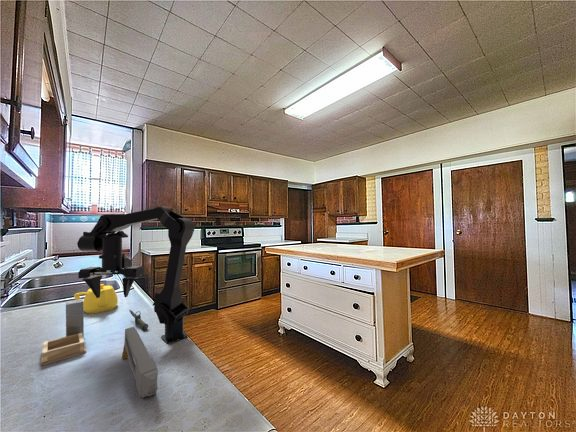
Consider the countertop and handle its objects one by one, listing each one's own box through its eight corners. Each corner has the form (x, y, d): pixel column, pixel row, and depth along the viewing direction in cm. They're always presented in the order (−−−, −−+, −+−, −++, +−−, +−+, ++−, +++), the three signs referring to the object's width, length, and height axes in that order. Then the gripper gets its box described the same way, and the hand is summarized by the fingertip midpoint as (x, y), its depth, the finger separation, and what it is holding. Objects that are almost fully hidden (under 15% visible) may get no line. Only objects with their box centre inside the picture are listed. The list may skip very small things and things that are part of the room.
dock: (85, 352, 75) (85, 341, 75) (40, 365, 69) (40, 354, 69) (83, 341, 82) (83, 332, 82) (41, 352, 76) (41, 342, 76)
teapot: (73, 307, 117) (72, 284, 117) (113, 299, 127) (113, 278, 127) (75, 321, 100) (75, 293, 100) (121, 310, 111) (121, 286, 111)
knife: (125, 315, 101) (126, 303, 101) (131, 313, 103) (132, 301, 103) (142, 334, 89) (143, 320, 89) (149, 332, 91) (149, 319, 90)
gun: (138, 435, 56) (145, 382, 52) (117, 354, 73) (121, 310, 69) (154, 426, 58) (161, 375, 54) (130, 350, 75) (134, 307, 71)
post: (83, 337, 85) (83, 301, 86) (66, 341, 82) (66, 304, 83) (82, 333, 89) (82, 298, 89) (65, 337, 86) (65, 301, 86)
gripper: (151, 248, 95) (152, 290, 94) (100, 249, 94) (100, 291, 94) (134, 251, 84) (135, 299, 83) (76, 253, 83) (76, 300, 83)
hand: (112, 297), depth 86 cm, fingers open, 9 cm apart
